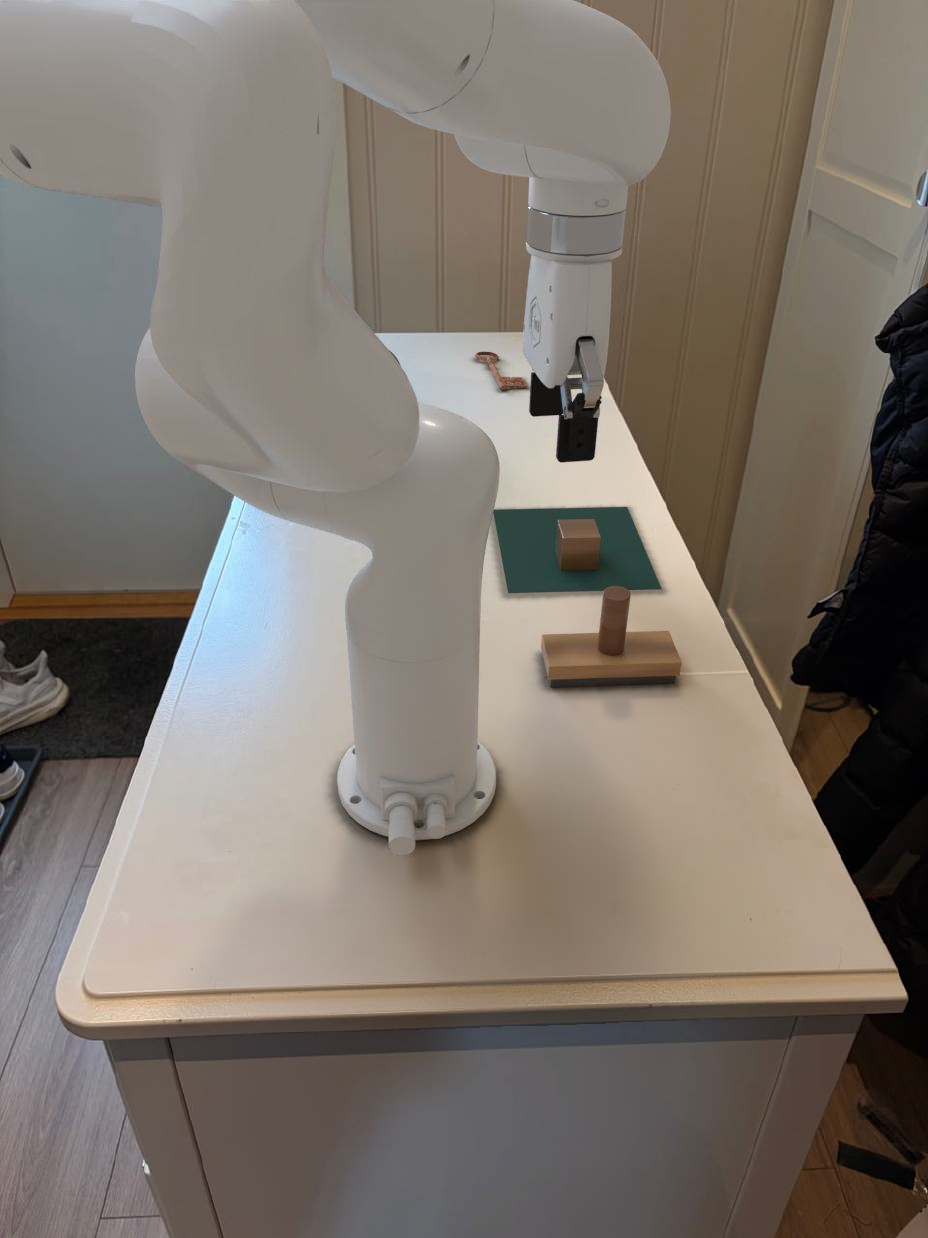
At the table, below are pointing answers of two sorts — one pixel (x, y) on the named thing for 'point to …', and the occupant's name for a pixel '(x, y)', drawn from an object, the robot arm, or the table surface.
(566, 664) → the brush
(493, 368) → the key
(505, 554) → the mat
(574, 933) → the table surface
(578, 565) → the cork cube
